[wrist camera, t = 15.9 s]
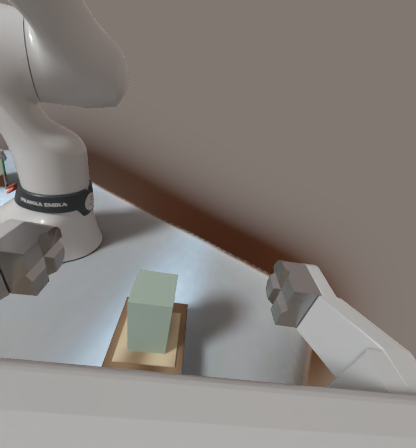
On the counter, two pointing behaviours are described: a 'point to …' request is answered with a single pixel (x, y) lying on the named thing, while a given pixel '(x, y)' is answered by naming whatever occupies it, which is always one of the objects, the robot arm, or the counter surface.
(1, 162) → the food container
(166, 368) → the build plinth
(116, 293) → the counter surface
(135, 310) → the pillar block
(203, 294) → the counter surface
